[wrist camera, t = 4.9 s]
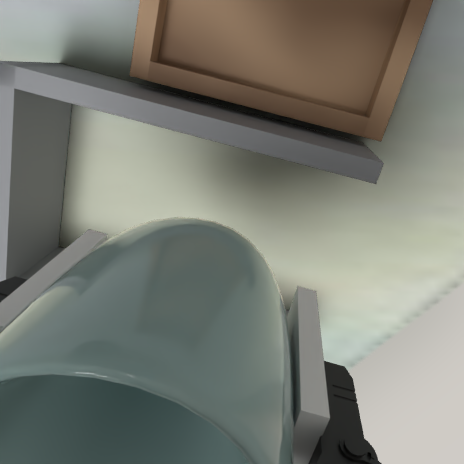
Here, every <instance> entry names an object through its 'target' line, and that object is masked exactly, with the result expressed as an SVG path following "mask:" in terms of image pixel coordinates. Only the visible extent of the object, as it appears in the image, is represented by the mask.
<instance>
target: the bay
mask: <svg viewBox="0 0 464 464" xmlns="http://www.w3.org/2000/svg"><path fill="white" fill-rule="evenodd" d="M72 104H75V105H79V106H83V107H87V108H90V109H94V110H98V111H102V112H106V113H109V114H113V115H117V116H121V117H124V118H128V119H132V120H136V121H140V122H143V123H147V124H151V125H155V126H158V127H162V128H166V129H170V130H174V131H177V132H181V133H185V134H189V135H192V136H196V137H200V138H204V139H208V140H211V141H215V142H219V143H223V144H226V145H230V146H234V147H238V148H242V149H245V150H249V151H253V152H257V153H260V154H264V155H268V156H272V157H276V158H279V159H283V160H287V161H291V162H294V163H298V164H302V165H306V166H310V167H313V168H317V169H321V170H325V171H328V172H332V173H336V174H340V175H344V176H347V177H351V178H355V179H359V180H362V181H366V182H370V183H374V184H376V182H377V180H378V177H379V175H380V172H381V169H382V167H383V164H384V163H383V162H382V161H381V160H380V159H379V158H378V157H377V156H376V155H375V154H374V153H373V152H372V151H371V150H370V149H369V148H368V147H367V146H366V145H365V144H364V143H363V142H359V141H355V140H351V139H347V138H344V137H340V136H336V135H332V134H328V133H324V132H321V131H317V130H313V129H309V128H305V127H301V126H298V125H294V124H290V123H286V122H282V121H279V120H275V119H271V118H267V117H263V116H259V115H256V114H252V113H248V112H244V111H240V110H237V109H233V108H229V107H225V106H221V105H217V104H214V103H210V102H206V101H202V100H198V99H195V98H191V97H187V96H183V95H179V94H175V93H172V92H168V91H164V90H160V89H156V88H152V87H149V86H145V85H141V84H137V83H133V82H130V81H126V80H122V79H118V78H114V77H110V76H107V75H103V74H99V73H95V72H91V71H88V70H84V69H80V68H76V67H72V66H68V65H65V64H61V63H41V62H12V61H0V282H1V281H4V280H6V279H9V278H12V277H15V276H16V277H20V278H23V279H27V280H28V279H29V278H31V277H32V276H33V275H34V274H35V273H37V272H38V271H39V270H40V269H41V268H43V267H44V266H45V265H46V264H47V263H49V262H50V261H51V260H52V259H54V258H55V257H56V256H57V255H58V254H60V253H61V252H62V251H63V250H64V248H61V247H59V236H60V226H61V215H62V204H63V194H64V183H65V172H66V162H67V151H68V141H69V130H70V119H71V109H72ZM288 313H289V310H286V317H287V316H288Z"/></svg>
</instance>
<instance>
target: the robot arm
mask: <svg viewBox="0 0 464 464" xmlns="http://www.w3.org/2000/svg"><path fill="white" fill-rule="evenodd" d="M106 238H107V234H105V233H101V232H98V231H94V230H90V229H89V230H87V231H86V232H85V233H84V234H82V235H81V236H80V237H79V238H78V239H76V240H75V241H74V242H73V243H72V244H70V245H69V246H68V247H67V248H66V249H64V250H63V251H62V252H61V253H60V254H58V255H57V256H56V257H55V258H54V259H52V260H51V261H50V262H49V263H47V264H46V265H45V266H44V267H43V268H41V269H40V270H39V271H38V272H37V273H35V274H34V275H33V276H32V277H31V278H29V279H28V280H27V279H23V278H20V277H16V276H15V277H12V278H9V279H6V280H4V281H1V282H0V330H1V329H2V328H3V327H4V326H5V325H6V324H7V323H8V322H9V321H11V320H12V319H13V318H14V317H15V316H16V315H17V314H18V313H19V312H20V311H21V310H22V309H23V308H24V307H26V306H27V305H28V304H29V303H30V302H31V301H32V300H33V299H34V298H35V297H36V296H37V295H38V294H40V293H41V292H42V291H43V290H44V289H45V288H46V287H47V286H48V285H49V284H51V283H52V282H53V281H54V280H55V279H56V278H57V277H58V276H60V275H61V274H62V273H63V272H64V271H65V270H67V269H68V268H69V267H70V266H71V265H72V264H74V263H75V262H76V261H77V260H79V259H80V258H81V257H82V256H84V255H85V254H86V253H88V252H89V251H91V250H92V249H93V248H95V247H96V246H98V245H99V244H101V243H103V242H105V241H106ZM287 323H288V330H289V337H290V344H291V356H292V372H293V403H294V464H381V463H380V462H379V461H378V458H377V455H376V453H375V450H374V449H373V447H372V446H371V445H370V444H369V443H368V441H366V440H365V439H364V435H363V430H362V425H361V420H360V414H359V409H358V404H357V403H356V402H357V399H356V394H355V388H354V383H353V379H352V377H351V376H350V375H349V373H348V371H347V370H346V368H345V367H344V366H340V365H337V364H333V363H330V362H326V361H324V358H323V349H322V340H321V330H320V321H319V312H318V303H317V294H316V291H314V290H310V289H307V288H303V287H299V286H297V289H296V292H295V295H294V298H293V301H292V304H291V307H290V310H289V313H288V316H287Z"/></svg>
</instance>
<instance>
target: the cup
mask: <svg viewBox="0 0 464 464" xmlns="http://www.w3.org/2000/svg"><path fill="white" fill-rule="evenodd" d="M0 464H294V403H293V372H292V356H291V344H290V337H289V330H288V323H287V317H286V310H285V305H284V301H283V297H282V294H281V292H280V289H279V286H278V283H277V280H276V278H275V275H274V273H273V271H272V269H271V267H270V266H269V264H268V262H267V261H266V259H265V257H264V256H263V254H262V253H261V252H260V251H259V250H258V249H257V248H256V247H255V246H254V245H253V243H252V242H251V241H250V240H249V239H248V238H246V237H245V236H243V235H242V234H240V233H239V232H237V231H236V230H234V229H233V228H230V227H228V226H225V225H223V224H220V223H218V222H215V221H210V220H205V219H200V218H190V217H174V218H166V219H158V220H152V221H149V222H146V223H142V224H139V225H136V226H133V227H131V228H128V229H126V230H124V231H122V232H120V233H119V234H117V235H115V236H113V237H112V238H110V239H108V240H106V241H105V242H103V243H101V244H99V245H98V246H96V247H95V248H93V249H92V250H91V251H89V252H88V253H86V254H85V255H84V256H82V257H81V258H80V259H79V260H77V261H76V262H75V263H74V264H72V265H71V266H70V267H69V268H68V269H67V270H65V271H64V272H63V273H62V274H61V275H60V276H58V277H57V278H56V279H55V280H54V281H53V282H52V283H51V284H49V285H48V286H47V287H46V288H45V289H44V290H43V291H42V292H41V293H40V294H38V295H37V296H36V297H35V298H34V299H33V300H32V301H31V302H30V303H29V304H28V305H27V306H26V307H24V308H23V309H22V310H21V311H20V312H19V313H18V314H17V315H16V316H15V317H14V318H13V319H12V320H11V321H9V322H8V323H7V324H6V325H5V326H4V327H3V328H2V329H1V330H0Z"/></svg>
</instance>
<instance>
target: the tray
mask: <svg viewBox="0 0 464 464" xmlns="http://www.w3.org/2000/svg"><path fill="white" fill-rule="evenodd" d="M432 2H433V0H140V3H139V11H138V18H137V25H136V32H135V39H134V46H133V54H132V61H131V68H130V75H129V76H132V77H136V78H140V79H144V80H147V81H151V82H155V83H159V84H163V85H166V86H170V87H174V88H178V89H182V90H186V91H189V92H193V93H197V94H201V95H205V96H209V97H212V98H216V99H220V100H224V101H228V102H232V103H235V104H239V105H243V106H247V107H251V108H254V109H258V110H262V111H266V112H270V113H274V114H277V115H281V116H285V117H289V118H293V119H297V120H300V121H304V122H308V123H312V124H316V125H320V126H323V127H327V128H331V129H335V130H339V131H343V132H346V133H350V134H354V135H358V136H362V137H365V138H369V139H373V140H377V141H382V138H383V135H384V133H385V130H386V127H387V124H388V122H389V119H390V116H391V113H392V111H393V108H394V105H395V103H396V100H397V97H398V94H399V92H400V89H401V86H402V84H403V81H404V78H405V75H406V73H407V70H408V67H409V65H410V62H411V59H412V56H413V54H414V51H415V48H416V46H417V43H418V40H419V37H420V35H421V32H422V29H423V27H424V24H425V21H426V18H427V16H428V13H429V10H430V7H431V5H432Z"/></svg>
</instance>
